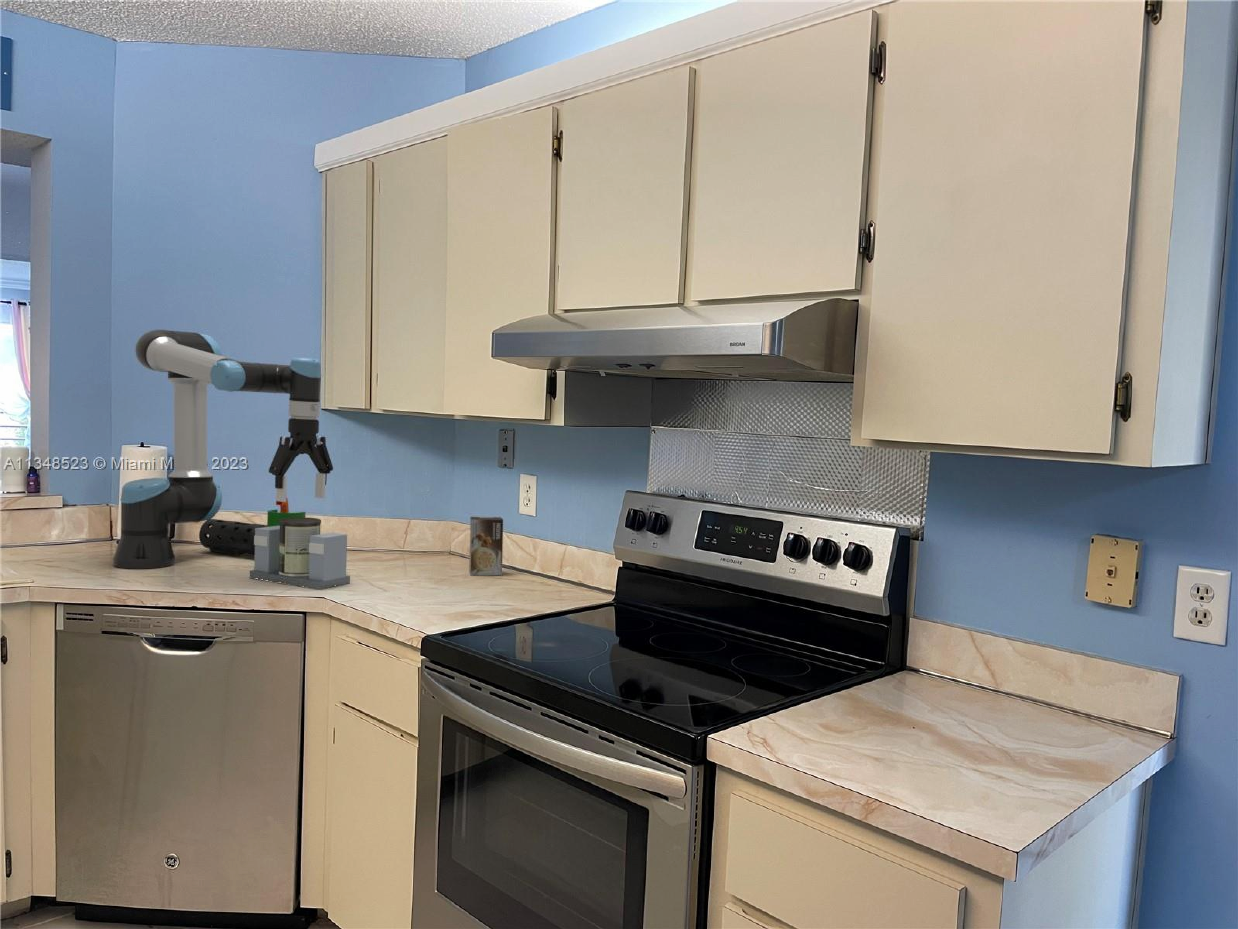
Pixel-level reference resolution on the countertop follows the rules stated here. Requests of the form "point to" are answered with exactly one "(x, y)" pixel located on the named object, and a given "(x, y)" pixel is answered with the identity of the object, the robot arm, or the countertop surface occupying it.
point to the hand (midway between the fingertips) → (300, 499)
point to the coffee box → (486, 546)
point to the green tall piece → (281, 514)
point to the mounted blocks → (323, 550)
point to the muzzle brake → (229, 536)
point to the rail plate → (298, 579)
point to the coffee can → (296, 545)
